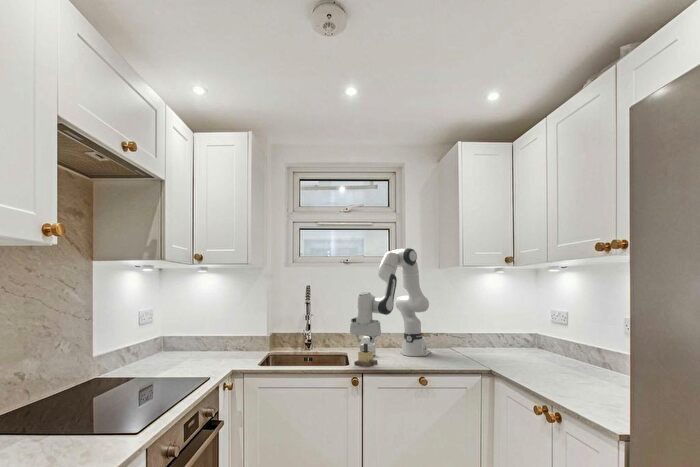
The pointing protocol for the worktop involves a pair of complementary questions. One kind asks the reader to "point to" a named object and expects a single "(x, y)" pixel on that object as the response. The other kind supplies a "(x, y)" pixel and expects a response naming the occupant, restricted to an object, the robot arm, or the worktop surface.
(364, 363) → the post board
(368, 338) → the container
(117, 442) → the worktop surface
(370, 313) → the robot arm
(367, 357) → the collar
